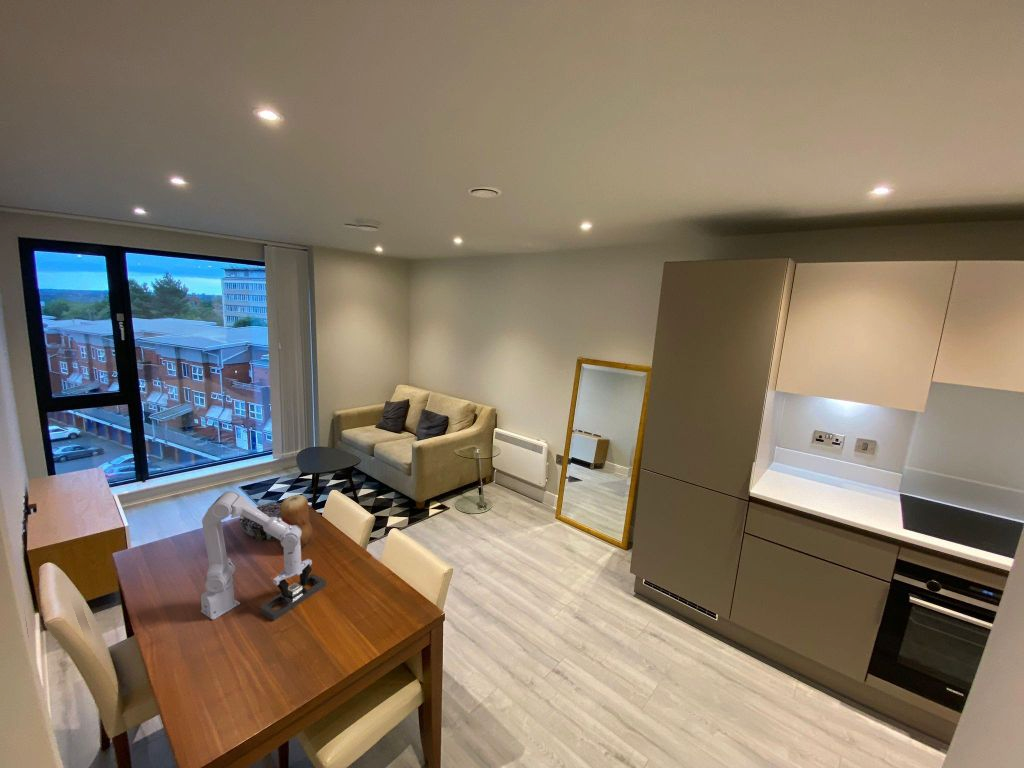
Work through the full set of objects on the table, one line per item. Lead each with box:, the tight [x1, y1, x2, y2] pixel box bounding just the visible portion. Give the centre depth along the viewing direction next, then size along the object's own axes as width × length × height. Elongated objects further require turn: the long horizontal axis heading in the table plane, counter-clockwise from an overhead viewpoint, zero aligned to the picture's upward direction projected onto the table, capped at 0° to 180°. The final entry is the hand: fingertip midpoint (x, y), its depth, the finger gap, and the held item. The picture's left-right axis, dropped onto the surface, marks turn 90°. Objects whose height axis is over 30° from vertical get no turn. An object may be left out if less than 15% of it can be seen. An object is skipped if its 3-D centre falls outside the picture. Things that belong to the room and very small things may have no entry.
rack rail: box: [259, 573, 327, 622], centre depth 158 cm, size 22×8×2 cm, turn 153°
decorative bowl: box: [238, 502, 282, 542], centre depth 202 cm, size 26×28×10 cm
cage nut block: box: [288, 582, 302, 600], centre depth 158 cm, size 4×4×5 cm
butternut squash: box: [279, 494, 314, 549], centre depth 188 cm, size 14×13×25 cm
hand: (294, 590), depth 158 cm, fingers open, 7 cm apart
